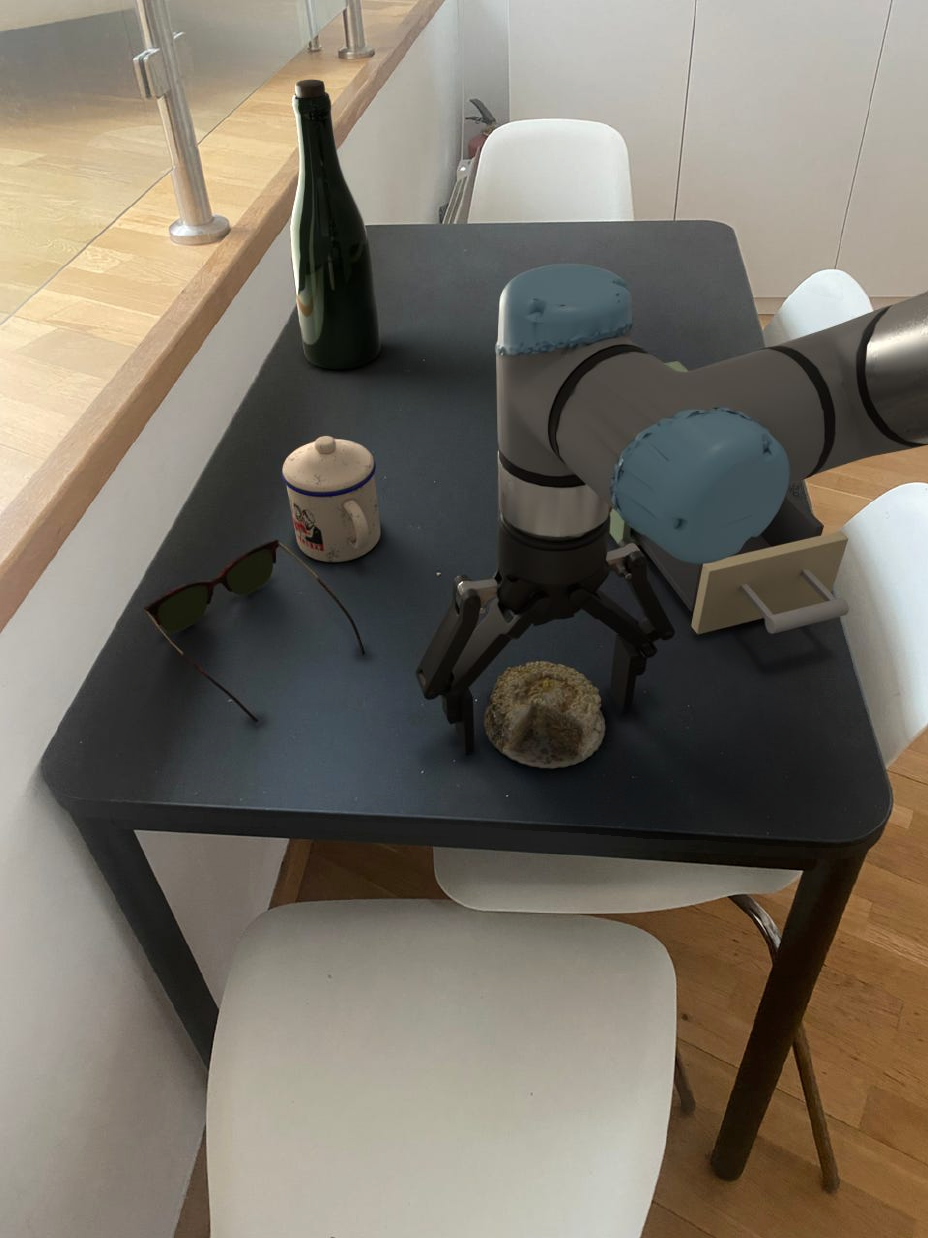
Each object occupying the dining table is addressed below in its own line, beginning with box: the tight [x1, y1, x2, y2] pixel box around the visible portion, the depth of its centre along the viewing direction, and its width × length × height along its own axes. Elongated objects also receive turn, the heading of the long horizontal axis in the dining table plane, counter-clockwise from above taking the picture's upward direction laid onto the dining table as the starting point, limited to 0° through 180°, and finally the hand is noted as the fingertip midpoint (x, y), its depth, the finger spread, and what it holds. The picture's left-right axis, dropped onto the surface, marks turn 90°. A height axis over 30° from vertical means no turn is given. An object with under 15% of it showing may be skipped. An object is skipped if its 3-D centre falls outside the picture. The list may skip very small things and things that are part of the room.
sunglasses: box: [143, 538, 366, 723], centre depth 82 cm, size 14×15×5 cm
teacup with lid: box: [281, 435, 381, 563], centre depth 90 cm, size 12×9×12 cm
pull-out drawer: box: [630, 489, 849, 635], centre depth 85 cm, size 23×13×7 cm, turn 18°
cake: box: [482, 660, 606, 769], centre depth 74 cm, size 10×10×5 cm
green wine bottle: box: [288, 79, 381, 370], centre depth 115 cm, size 10×10×33 cm
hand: (544, 721), depth 75 cm, fingers open, 13 cm apart
